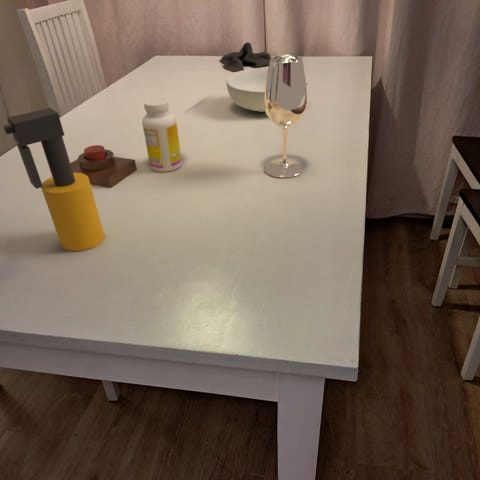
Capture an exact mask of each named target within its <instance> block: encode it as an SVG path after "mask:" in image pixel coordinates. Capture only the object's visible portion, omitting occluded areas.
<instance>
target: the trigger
mask: <svg viewBox="0 0 480 480" xmlns="http://www.w3.org/2000/svg"><path fill="white" fill-rule="evenodd" d="M16 146H17V149H18V151H19V154H20V156H21V161H22V162H23V166H24V168H25V171H26V174H27V176H28V179H29V181H30V184H31V185H32V186H33V187H34V188H35V189H36V190H37V189H40V188H41V187H43V186H42V183H43V182H42V180H41V177H40V174H39V172H38V168H37V165H36V163H35V160H34V157H33V154H32V151H31V148H30V146H29V145H25V146H21V145H20V144H19V143H17V144H16Z"/></svg>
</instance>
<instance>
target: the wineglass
mask: <svg viewBox="0 0 480 480" xmlns="http://www.w3.org/2000/svg"><path fill="white" fill-rule="evenodd" d="M269 62H270V63H269V65H268V68H267V69H268V74H267V79H266V86H265V94H264V107H265V111H266V112H265V114H266V116H267V118H268V119H269V121H271V122H272V123H273V124H275V125H276V126H277V127H281V131H282V158H281V160H278V161H274V162H271V163H269V164H267V165H266V166H265V172H266V174H268V175H269V176H271V177H274V178H281V179H285V178H286V179H287V178H293V177H297V176H299V175H301V174H302V173H303V171H304V167H303V165H302V164H300V163H298V162H296V161H291V160H287V143H288V142H287V140H288V131H289V127H291V126H293V125H295V124H296V123H298V121H300V120H301V119H302V117H303V116H304V115H305V112H306V109H307V104H308V90H307V88H308V87H307V88H306V80H305V76H306V73H305V66H304V62H303V57H302V56H300V55H295V54H279V55H275V56H271V59H270V61H269Z"/></svg>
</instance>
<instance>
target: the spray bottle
mask: <svg viewBox="0 0 480 480" xmlns="http://www.w3.org/2000/svg"><path fill="white" fill-rule="evenodd" d="M6 119H7V122H8V124H5V125H3V126H2V127H3V131H4V133H5V134H6V135H10V134H12V137H13V139H14V141H15V142H16V143H17V144H20V145H21V146H25V145H27V146H29V145H33V144H37V143H40V144H41V147H42V149H43V152H44V155H45V159H46V162H47V165H48V167H49V171H50V174H51V176H50V177H49V178H48V177H47V179H45V180H44V181H43V182H41V183H42V186H43V187H41V191H42V194H43V197H44V200H45V203H46V205H47V209H48V211H49V214H50V217H51V220H52V222H53V225H54V229H55V232H56V234H57V237H58V240H59V243H60V246H61V247H62V249H64V250H66V251H69V252H83V251H87V250H91V249H94V248H95V247H97V246H99V245H100V244H101V243H102V242H103V241H104V240H105V233H104V229H103V225H102V222H101V218H100V215H99V211H98V208H97V207H98V206H97V204H96V200H95V196H94V192H93V189H92V185H91V184H90V181H89V178H88V176H87V175H85V174H82V173H73V171H72V168H71V164H70V163H71V161H70V158H69V154H68V150H67V148H66V144H65V141H64V137H63V136H65V132H64V129H63V125H62V121H61V118H60V115H59V112H57V111H55V110H54V109H53V108H51V107H49V108H44V109H43V108H42V109H39V110H35V111H34V110H33V111H31V112H26V113H22V114H18V115H12V116H9V117H6Z"/></svg>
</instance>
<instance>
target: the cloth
mask: <svg viewBox="0 0 480 480" xmlns="http://www.w3.org/2000/svg"><path fill="white" fill-rule="evenodd" d="M271 58H272V56H271V54H270V53H269V52H265V51H262V52H255V53H254V52H253V47H252V44H251V43H250V42H248V41H247V42H245V43H243V45H242V47H241V48H240V50H239V51H233V52H230V53H226V54H224V55H223V56H222V57H221V58H220V59H219V62H220V63H221V64H223V65H222V68H223V69H225V70H227V71H230V72H232V73H235V72H240V71H243V70H244V69H245V67H250V68H254V69H256V68H260V67H264V66H269V63H270V59H271Z"/></svg>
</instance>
